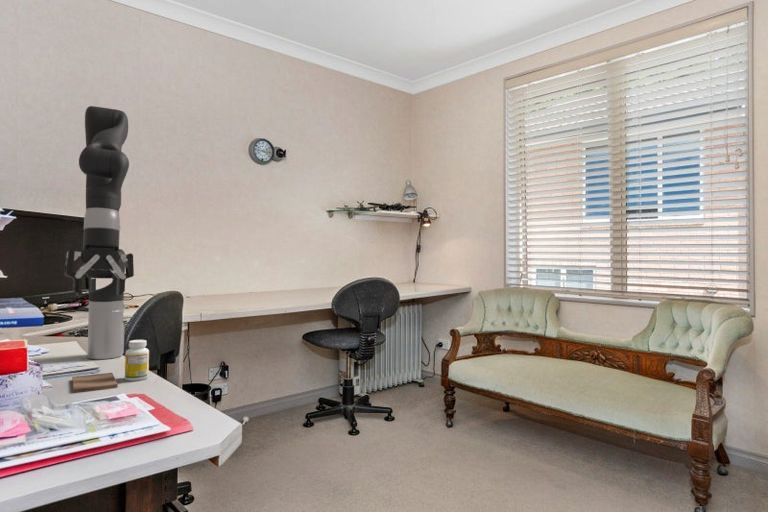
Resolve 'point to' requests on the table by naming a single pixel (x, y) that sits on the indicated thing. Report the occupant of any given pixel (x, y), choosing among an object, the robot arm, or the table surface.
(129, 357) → the supplement bottle
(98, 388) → the walnut mat
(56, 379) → the table surface
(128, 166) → the robot arm
